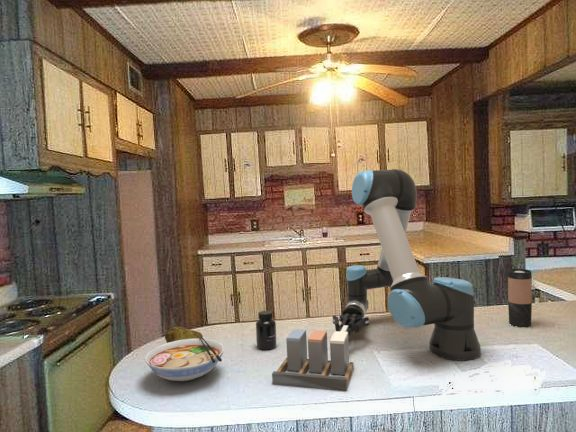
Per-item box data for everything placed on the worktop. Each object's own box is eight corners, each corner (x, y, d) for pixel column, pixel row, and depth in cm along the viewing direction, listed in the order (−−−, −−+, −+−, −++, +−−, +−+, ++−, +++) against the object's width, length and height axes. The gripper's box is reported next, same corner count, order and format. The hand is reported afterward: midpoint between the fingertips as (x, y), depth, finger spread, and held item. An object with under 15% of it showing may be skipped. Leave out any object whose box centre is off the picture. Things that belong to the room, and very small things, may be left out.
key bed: (287, 363, 133) (286, 354, 133) (353, 368, 127) (353, 358, 127) (272, 384, 119) (271, 373, 119) (346, 390, 113) (345, 379, 113)
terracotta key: (315, 361, 133) (314, 330, 133) (328, 362, 132) (326, 330, 131) (309, 372, 126) (307, 339, 125) (322, 373, 124) (321, 339, 124)
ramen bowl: (143, 368, 134) (141, 342, 134) (215, 354, 143) (214, 330, 142) (149, 404, 111) (147, 373, 111) (235, 385, 120) (233, 356, 119)
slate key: (295, 359, 135) (293, 328, 134) (307, 360, 134) (306, 329, 133) (287, 370, 127) (286, 337, 127) (300, 371, 126) (299, 338, 126)
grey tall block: (336, 362, 131) (334, 331, 131) (349, 363, 130) (348, 331, 130) (331, 373, 124) (329, 340, 123) (345, 374, 123) (343, 341, 122)
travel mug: (536, 327, 154) (535, 272, 153) (514, 328, 154) (514, 273, 153) (524, 320, 162) (524, 268, 161) (504, 321, 162) (503, 269, 161)
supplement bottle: (274, 351, 144) (272, 315, 143) (254, 350, 145) (252, 315, 144) (278, 343, 150) (277, 309, 149) (259, 342, 152) (258, 309, 151)
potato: (205, 349, 148) (203, 326, 147) (166, 355, 144) (164, 332, 143) (202, 341, 156) (201, 320, 155) (165, 347, 152) (164, 325, 151)
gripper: (372, 325, 156) (364, 349, 133) (336, 323, 159) (322, 346, 137) (371, 304, 155) (363, 325, 133) (335, 303, 159) (321, 323, 136)
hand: (342, 336), depth 135 cm, fingers closed
